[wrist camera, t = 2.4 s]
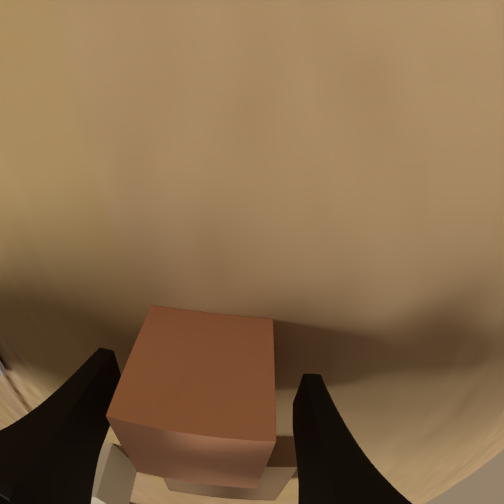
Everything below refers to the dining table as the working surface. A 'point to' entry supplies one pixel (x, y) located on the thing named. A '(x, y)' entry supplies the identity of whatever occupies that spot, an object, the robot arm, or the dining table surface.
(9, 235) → the dining table surface
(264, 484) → the walnut slab
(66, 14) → the dining table surface
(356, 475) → the robot arm
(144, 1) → the dining table surface
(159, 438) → the terracotta block
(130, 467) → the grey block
